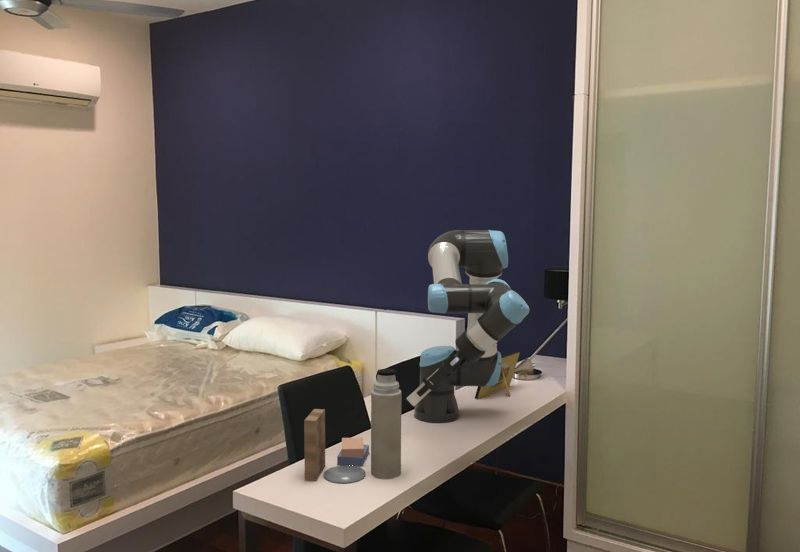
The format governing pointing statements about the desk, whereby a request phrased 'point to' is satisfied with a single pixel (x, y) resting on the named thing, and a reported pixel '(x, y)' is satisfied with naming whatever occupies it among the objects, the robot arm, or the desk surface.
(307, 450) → the bookend
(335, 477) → the coaster
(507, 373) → the picture frame
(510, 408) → the desk surface
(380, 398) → the thermos bottle
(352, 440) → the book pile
